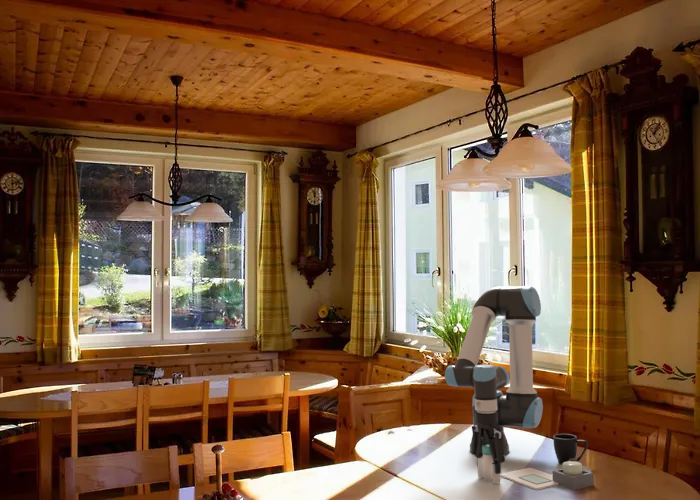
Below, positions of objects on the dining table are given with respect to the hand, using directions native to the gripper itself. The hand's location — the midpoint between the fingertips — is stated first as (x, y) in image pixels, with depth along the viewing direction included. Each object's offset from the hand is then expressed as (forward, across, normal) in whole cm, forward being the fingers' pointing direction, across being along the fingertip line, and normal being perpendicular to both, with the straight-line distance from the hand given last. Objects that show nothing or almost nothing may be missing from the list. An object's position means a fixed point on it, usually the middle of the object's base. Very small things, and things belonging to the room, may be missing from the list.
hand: (489, 479), depth 219 cm
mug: (0, +1, +37) cm, 37 cm away
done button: (-2, +18, +20) cm, 27 cm away
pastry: (+1, +8, +31) cm, 32 cm away
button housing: (0, +18, +20) cm, 27 cm away
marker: (0, 0, 0) cm, 0 cm away
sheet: (0, +7, +13) cm, 15 cm away
